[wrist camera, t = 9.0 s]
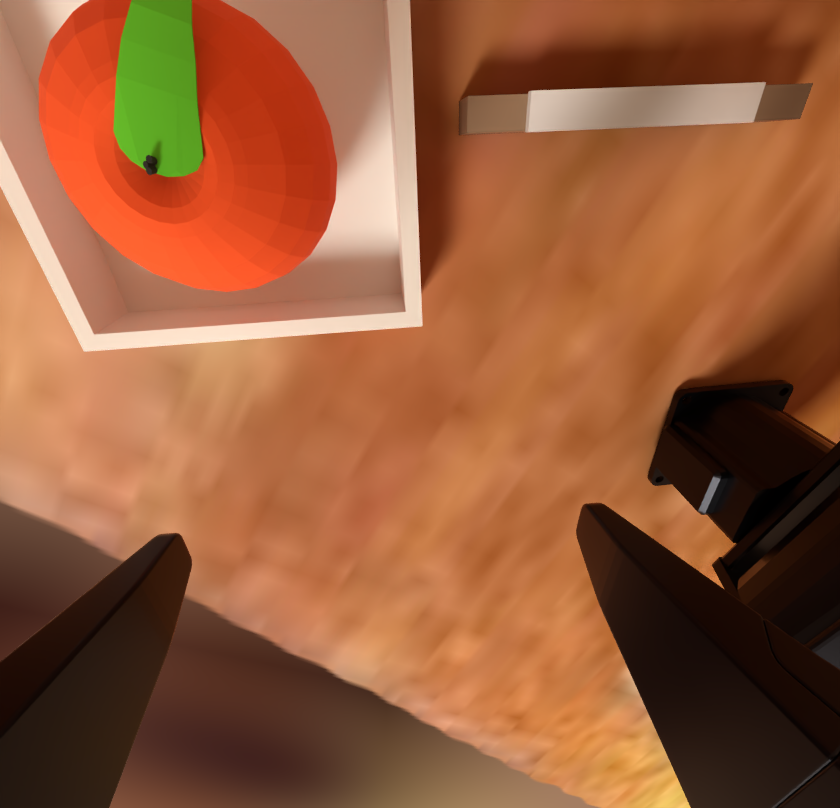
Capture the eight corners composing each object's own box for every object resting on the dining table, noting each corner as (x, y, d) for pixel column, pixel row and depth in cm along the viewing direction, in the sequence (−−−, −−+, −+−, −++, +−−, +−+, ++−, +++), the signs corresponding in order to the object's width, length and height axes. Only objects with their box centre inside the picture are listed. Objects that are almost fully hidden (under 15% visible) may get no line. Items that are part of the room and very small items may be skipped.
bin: (395, -117, 12) (402, -193, 9) (415, 302, 18) (422, 326, 16) (-63, -117, 11) (-195, -200, 8) (126, 322, 17) (83, 351, 15)
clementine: (122, -65, 11) (-163, -318, 5) (369, 35, 13) (369, -72, 7) (136, 235, 15) (-20, 287, 9) (326, 283, 17) (301, 355, 11)
